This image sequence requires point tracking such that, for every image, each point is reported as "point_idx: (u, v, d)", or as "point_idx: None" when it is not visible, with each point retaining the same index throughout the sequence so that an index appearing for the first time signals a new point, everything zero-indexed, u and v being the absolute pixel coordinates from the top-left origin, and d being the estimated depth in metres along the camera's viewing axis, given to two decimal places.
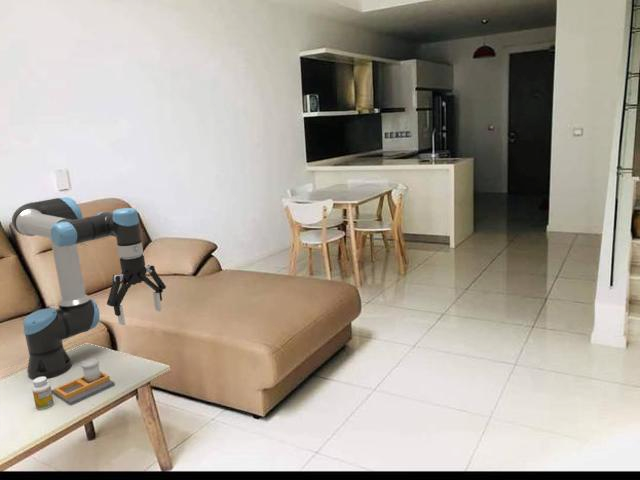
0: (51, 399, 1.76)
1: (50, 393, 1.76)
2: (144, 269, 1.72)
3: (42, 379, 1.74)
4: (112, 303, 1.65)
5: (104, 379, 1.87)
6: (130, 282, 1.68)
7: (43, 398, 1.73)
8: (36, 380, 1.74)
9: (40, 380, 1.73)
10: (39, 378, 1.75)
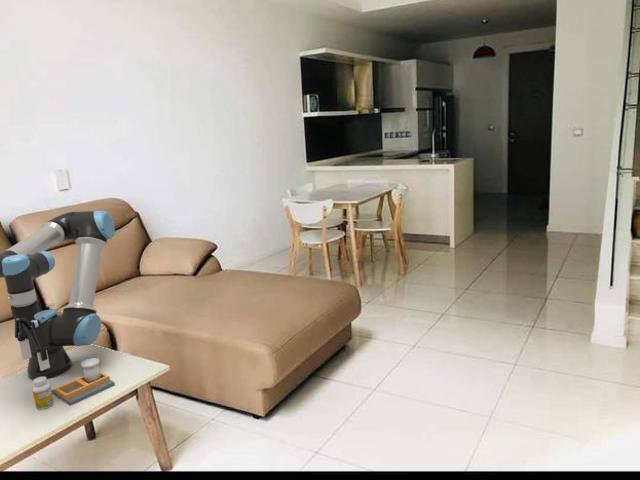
0: (51, 399, 1.76)
1: (50, 393, 1.76)
2: (27, 321, 1.66)
3: (42, 379, 1.74)
4: (15, 335, 1.76)
5: (104, 379, 1.87)
6: (19, 326, 1.70)
7: (43, 398, 1.73)
8: (36, 380, 1.74)
9: (40, 380, 1.73)
10: (39, 378, 1.75)
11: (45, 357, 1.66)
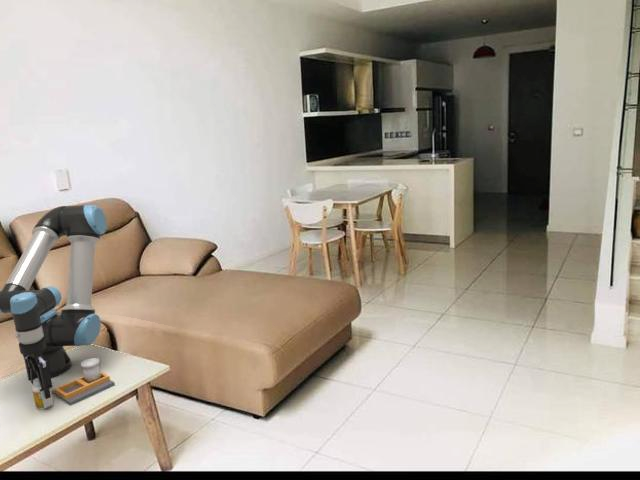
0: None
1: None
2: (35, 358, 1.69)
3: None
4: (28, 377, 1.77)
5: (104, 379, 1.87)
6: (28, 363, 1.73)
7: None
8: (36, 380, 1.74)
9: None
10: None
11: (48, 395, 1.73)
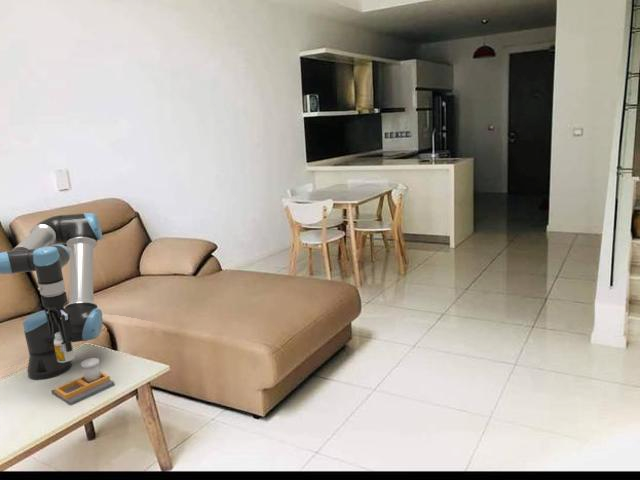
0: None
1: None
2: (57, 311, 1.72)
3: None
4: (49, 332, 1.80)
5: (104, 379, 1.87)
6: (50, 317, 1.76)
7: None
8: (57, 334, 1.76)
9: None
10: None
11: (70, 348, 1.75)
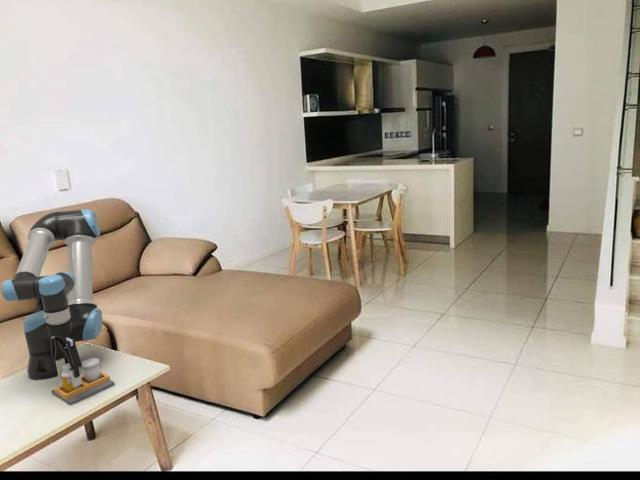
0: (79, 385, 1.82)
1: None
2: (62, 338, 1.74)
3: None
4: (51, 354, 1.83)
5: (104, 379, 1.87)
6: (54, 343, 1.78)
7: (72, 383, 1.79)
8: (65, 366, 1.80)
9: (69, 366, 1.79)
10: (68, 364, 1.81)
11: (78, 374, 1.76)
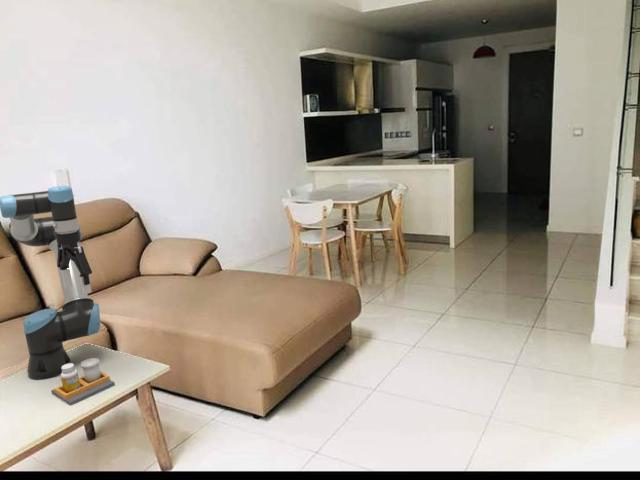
0: (78, 385, 1.81)
1: (78, 379, 1.81)
2: (71, 248, 1.77)
3: (70, 366, 1.80)
4: (57, 264, 1.87)
5: (104, 379, 1.87)
6: (62, 254, 1.81)
7: (71, 384, 1.79)
8: (64, 366, 1.79)
9: (68, 367, 1.79)
10: (67, 365, 1.80)
11: (88, 281, 1.78)
